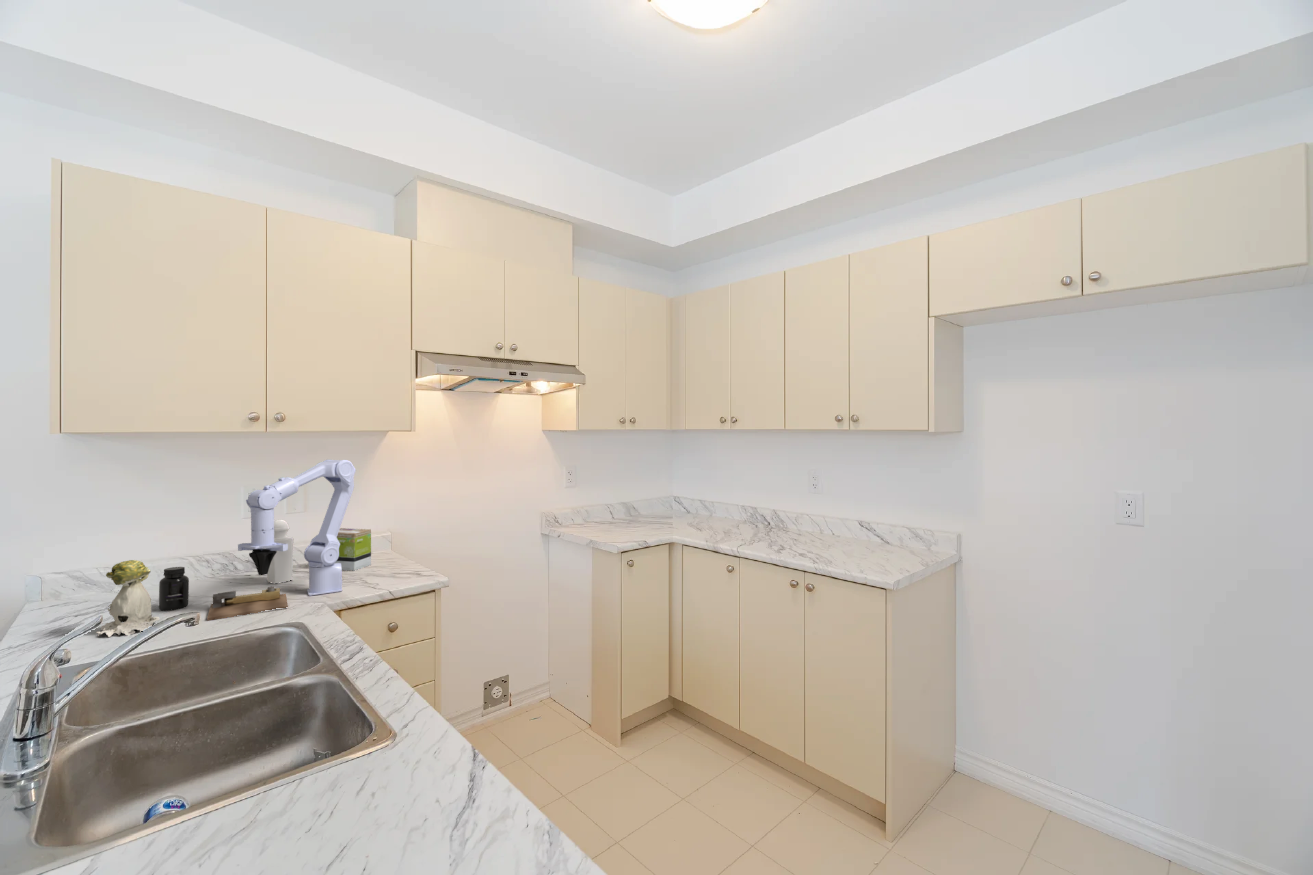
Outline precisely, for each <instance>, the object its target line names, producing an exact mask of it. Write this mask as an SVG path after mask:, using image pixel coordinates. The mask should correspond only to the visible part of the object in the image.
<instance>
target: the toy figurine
mask: <svg viewBox="0 0 1313 875" xmlns="http://www.w3.org/2000/svg"><path fill="white" fill-rule="evenodd" d="M150 573H151V569H149V567H147V566H146V565H145V564H144V563H143V561H142V560H137V559H134V560H133V559H129V560H125V561H120V562H118V563H116V564H114V565H113V566H112V567H111V571H110V572H109V571H108V572H106V574H105V577H107V578H108V579H111V581H113V583H114V585H116V586H122V587H121V588H120V590H118V591H117V592H116V591H115V593H117V595H116V596H115V597H114V599H113V600H112V602H111V603H110V604H109V605H108V606H107V611H108V612H109V613H108V614H109V615H110V616H112V618H113V619H114V621H109V622H106V623H104V625H101V627H100V630H101V631H96V634H97V637H100V636H101V635H103V634H106V636H107V637H108V638H111V636H112V635H113V634H117V635H118V636H120V635H121V633H122V634H124V635H125V636H131V635H133V634H135V633H136V631H135V630H137V631H139V632H140V633H142V632H141V631H143V630H144V629H145V628H148V627H149V626H152V625H153V624H154V623H155V622H156V621H159V620H160V617H159V616H153V614H152V602H151V601H152V597H151V595H150V593H149V591H148V590H147V589H146V588H145V586H144V585H143V583H142V582H143V581H145V580H146V579H147V578H148V577H149V574H150ZM152 627H153V626H152Z"/></svg>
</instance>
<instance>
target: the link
mask: <svg viewBox="0 0 1313 875" xmlns="http://www.w3.org/2000/svg"><path fill="white" fill-rule="evenodd" d="M280 594H281V587H277V588H276V587H274V591H270V592H268V589H262V590H261V592H256V593H248V594H243V595H242V594H239V595H236V596H235V597H234V598H226V599H223V602H224V605H231V604H236V603H244V602H251V601H259V600H262V601H263V600H273V599H278V598H280Z"/></svg>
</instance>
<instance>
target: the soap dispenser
mask: <svg viewBox="0 0 1313 875" xmlns="http://www.w3.org/2000/svg"><path fill="white" fill-rule="evenodd" d="M289 531H290V526H289V523H288V522H287V521H286V520H284V519H276V520H274V543H282V544H288V550H286V551H277V552H276V554H275V555H274V557H273V559H272V561H271V564H270V567H269V570H268V574H266V575H267V576H266V577H267V583H269V582H272V583H271V584H273V583H278V584H280V583H279V582H283V583H287V582H286V581H288V582H291V581H290V580H292V581H293V567H294V566H293V562H294V538H293V536H288V532H289ZM265 549H267V548H265Z"/></svg>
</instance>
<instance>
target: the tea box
mask: <svg viewBox="0 0 1313 875" xmlns="http://www.w3.org/2000/svg"><path fill="white" fill-rule="evenodd" d="M337 539H338V541H339V543H340V546H339V557H338V559H337V561H336V562H335V563H341V568H342V571H349V570H352V571H351V572H355V570H356V571H359V570H361V568H362V569H363V567H364V568H367V567H370V566H372V530H371V528H370V529H366V528H348V527H347V528H346V527H345V528H344V527H340V529H339V532H338V535H337ZM369 565H370V566H369ZM366 566H367V567H366ZM358 569H359V570H358Z"/></svg>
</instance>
